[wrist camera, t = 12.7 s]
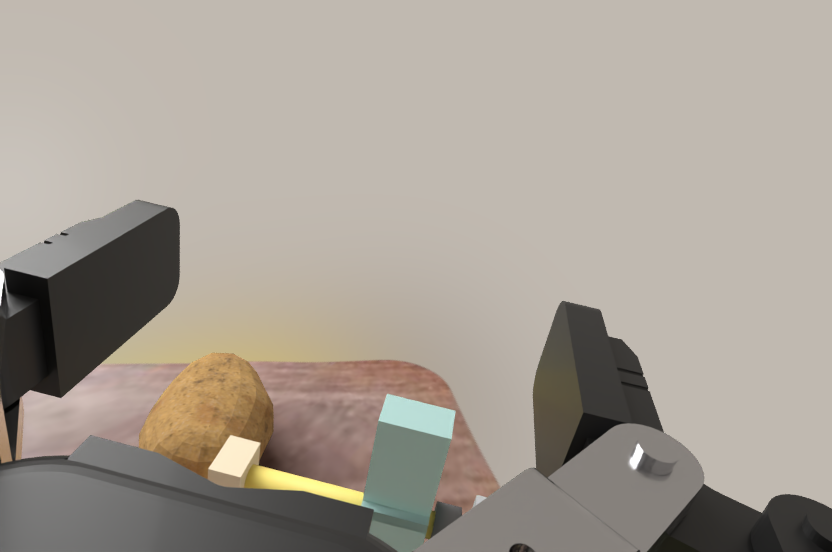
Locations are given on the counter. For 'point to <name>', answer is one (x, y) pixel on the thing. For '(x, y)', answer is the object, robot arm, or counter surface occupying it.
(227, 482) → the stand
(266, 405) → the potato
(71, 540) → the robot arm
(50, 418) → the counter surface
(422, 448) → the tall teal block
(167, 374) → the counter surface
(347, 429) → the counter surface
